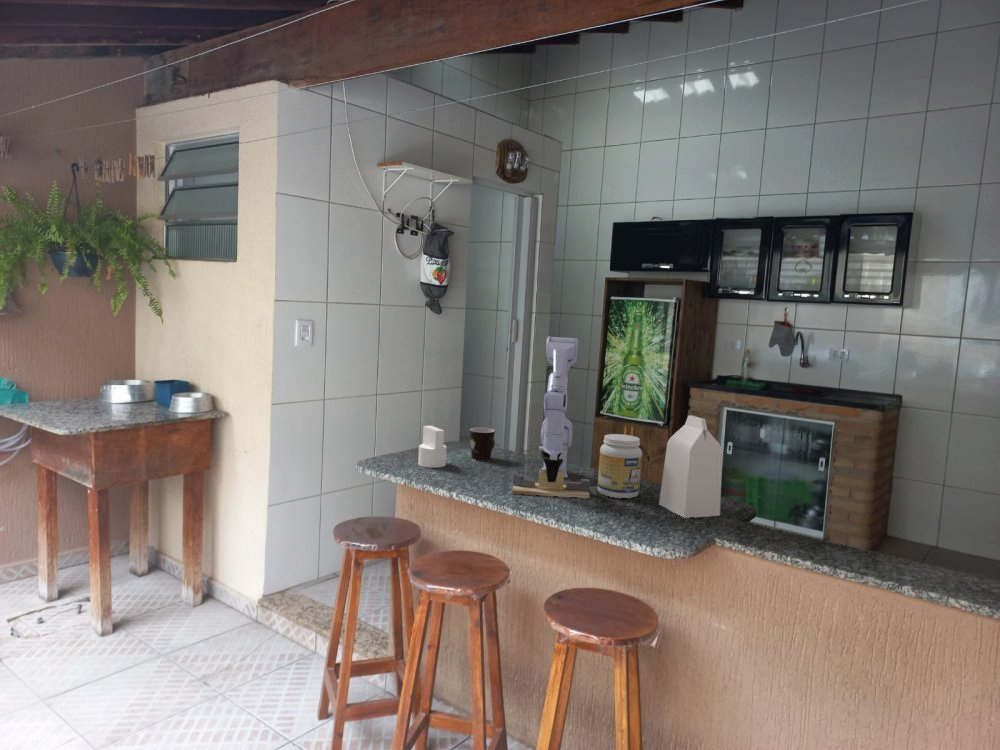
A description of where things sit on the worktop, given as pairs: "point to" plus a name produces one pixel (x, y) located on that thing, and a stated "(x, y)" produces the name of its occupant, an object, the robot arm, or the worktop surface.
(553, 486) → the gold rectangular block
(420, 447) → the base with upright slab
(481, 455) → the coffee mug
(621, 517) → the worktop surface
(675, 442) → the milk
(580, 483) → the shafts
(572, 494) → the wooden board
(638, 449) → the supplement tub
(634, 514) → the worktop surface
